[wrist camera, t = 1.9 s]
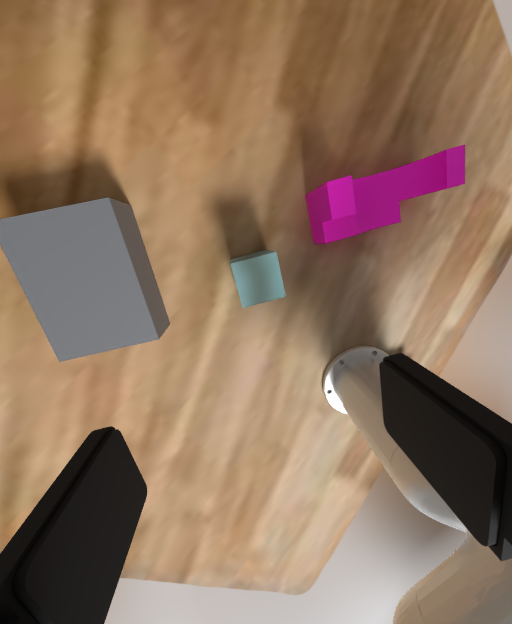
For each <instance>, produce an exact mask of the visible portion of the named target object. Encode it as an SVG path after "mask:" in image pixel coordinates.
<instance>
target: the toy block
mask: <svg viewBox="0 0 512 624" xmlns="http://www.w3.org/2000/svg"><path fill="white" fill-rule="evenodd" d="M462 184H465V145H462V146H458V147H454V148H451V149H447V150H444V151H442V152H439V153H437V154H434V155H432V156H429V157H426V158H424V159H421V160H418V161H415V162H413V163H410V164H407V165H404V166H401V167H398V168H395V169H392V170H388V171H385V172H382V173H378V174H375V175H371V176H367V177H363V178H358V179H352V176H347V177H343V178H340V179H336V180H332V181H329V182H326V183H324V184H323V185H321V186H320V187H318V188H317V189H315V190H314V191H312V192H310V193H309V194H307V195H306V202H307V207H308V213H309V218H310V224H311V230H312V235H313V241H314V244H326V243H330V242H333V241H337V240H340V239H344V238H348V237H351V236H355V235H358V234H360V233H363V232H366V231H369V230H372V229H376V228H379V227H383V226H387V225H391V224H395V223H399V222H401V218H400V205H399V201H402V200H405V199H409V198H413V197H417V196H420V195H424V194H428V193H432V192H436V191H439V190H443V189H447V188H451V187H454V186H458V185H462Z"/></svg>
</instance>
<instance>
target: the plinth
mask: <svg viewBox="0 0 512 624" xmlns="http://www.w3.org/2000/svg"><path fill="white" fill-rule="evenodd" d="M0 245H1V247H2V249H3V251H4V253H5V255H6V257H7V259H8V261H9V263H10V265H11V267H12V269H13V271H14V273H15V275H16V277H17V279H18V281H19V283H20V285H21V287H22V289H23V291H24V293H25V295H26V297H27V299H28V301H29V303H30V305H31V307H32V309H33V311H34V313H35V315H36V317H37V319H38V321H39V323H40V325H41V327H42V329H43V331H44V333H45V335H46V337H47V338H48V340H49V342H50V344H51V346H52V348H53V350H54V352H55V354H56V356H57V358H58V360H59V362H61V361H65V360H70V359H74V358H78V357H83V356H87V355H92V354H96V353H100V352H105V351H109V350H114V349H118V348H123V347H127V346H131V345H136V344H140V343H145V342H149V341H153V340H158V339H159V338H160V337H161V336H162V334H163V333H164V332H165V330H166V329H167V328H168V326H169V325H170V322H169V319H168V316H167V313H166V310H165V307H164V304H163V300H162V297H161V294H160V291H159V288H158V285H157V282H156V279H155V276H154V273H153V270H152V267H151V264H150V261H149V258H148V255H147V252H146V249H145V246H144V243H143V240H142V237H141V234H140V231H139V228H138V225H137V222H136V219H135V216H134V213H133V210H132V207H131V205H128V204H125V203H123V202H120V201H117V200H115V199H112V198H109V197H108V198H103V199H98V200H93V201H88V202H83V203H78V204H73V205H68V206H63V207H58V208H53V209H48V210H43V211H38V212H33V213H28V214H23V215H18V216H14V217H9V218H4V219H0Z"/></svg>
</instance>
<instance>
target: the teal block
mask: <svg viewBox="0 0 512 624" xmlns="http://www.w3.org/2000/svg"><path fill="white" fill-rule="evenodd" d="M230 264H231V268H232V271H233V275H234V279H235V282H236V286H237V290H238V293H239V297H240V301H241V304H242V308H245V307H248V306H252V305H256V304H260V303H264V302H267V301H271V300H275V299H279V298H283V297H286V295H285V290H284V285H283V281H282V276H281V271H280V266H279V262H278V257H277V252H275V251H269V250H263V251H259V252H255V253H252V254H248V255H244V256H240V257H236V258H232V259H231V261H230Z"/></svg>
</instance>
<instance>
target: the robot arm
mask: <svg viewBox="0 0 512 624" xmlns="http://www.w3.org/2000/svg"><path fill="white" fill-rule="evenodd" d="M322 387H323V392H324V395H325V397H326V399H327V401H328V402H329V404H330V405H331V406H332V407H333V408H335V409H336V410H337V411H339V412H342V413H345V414H348V415H349V416H350V418H351V419H352V421H353V422H354V424H355V425H356V427H357V428H358V430H359V431H360V433H361V434H362V436H363V437H364V438H365V440H366V441H367V443H368V444H369V446H370V447H371V449H372V450H373V452H374V453H375V455H376V456H377V458H378V459H379V460H380V462H381V463H382V465H383V466H384V468H385V469H386V471H387V472H388V474H389V475H390V476H391V478H392V479H393V481H394V483H395V484H396V486H397V487H398V488H399V490H400V491H401V492H402V494H403V495H404V496H405V498H406V499H407V500H408V501H409V502H410V503H411V504H412V505H413V506H415V507H416V508H417V509H418V510H419V511H421V512H422V513H424V514H426V515H427V516H429V517H431V518H433V519H435V520H437V521H439V522H441V523H443V524H446V525H448V526H451V527H453V528H455V529H458V530H461V531H463V532H466V533H467V537H466V540H465V541H464V543H463V544H461V545H460V546H459V547H458V548H457V549H456V550H455V553H454V554H452V555H451V556H450V557H449V558H448V559H446V560H445V561H444V562H442V563H441V564H440V565H439V566H437V567H436V568H435V569H434V570H433V571H431V572H430V573H429V574H428V575H426V576H425V577H424V578H423V579H421V580H420V581H419V582H418V583H417V584H415V585H414V586H413V587H412V588H411V589H410V590H409V591H408V592H407V593H406V594H405V595H404V596H403V597H402V598H401V600H400V601H399V603H398V605H397V607H396V610H395V613H394V618H393V624H512V424H511V423H510V422H508V421H507V420H505V419H503V418H502V417H500V416H499V415H497V414H496V413H494V412H492V411H491V410H489V409H488V408H486V407H485V406H483V405H482V404H480V403H479V402H477V401H476V400H474V399H472V398H471V397H469V396H468V395H466V394H465V393H463V392H461V391H460V390H459V389H457V388H455V387H454V386H452V385H451V384H449V383H448V382H446V381H445V380H443V379H441V378H440V377H438V376H437V375H435V374H434V373H432V372H431V371H429V370H427V369H426V368H424V367H423V366H421V365H420V364H418V363H417V362H415V361H413V360H412V359H410V358H409V357H407V356H406V355H404V354H402V353H398V354H394V355H390V356H389V355H388V354H387V353H385V352H384V351H382V350H381V349H379V348H376V347H373V346H357V347H353V348H350V349H348V350H345V351H343V352H342V353H341V354H339V355H338V356H337V357H335V358H334V359H333V360H332V362H331V363H330V364H329V366H328V367H327V369H326V371H325V373H324V377H323V383H322ZM146 497H147V486H146V483H145V481H144V479H143V477H142V475H141V473H140V471H139V469H138V467H137V465H136V463H135V461H134V459H133V457H132V455H131V452H130V450H129V448H128V446H127V444H126V442H125V440H124V438H123V436H122V434H121V432H120V431H119V430H117V429H116V430H115V428H114V427H106V428H102V429H98V430H94V431H92V432H91V433H90V434H89V435H88V437H87V438H86V439H85V441H84V442H83V443H82V445H81V446H80V447H79V449H78V450H77V452H76V453H75V454H74V456H73V457H72V458H71V460H70V461H69V462H68V464H67V465H66V466H65V468H64V469H63V470H62V472H61V473H60V474H59V476H58V477H57V478H56V480H55V481H54V482H53V484H52V485H51V486H50V488H49V489H48V490H47V492H46V493H45V494H44V496H43V497H42V499H41V500H40V501H39V503H38V504H37V505H36V507H35V508H34V509H33V511H32V512H31V513H30V515H29V516H28V517H27V519H26V520H25V521H24V523H23V524H22V525H21V527H20V528H19V529H18V531H17V532H16V533H15V535H14V536H13V537H12V539H11V540H10V542H9V543H8V544H7V546H6V547H5V548H4V550H3V551H2V552H1V554H0V624H104V622H105V619H106V616H107V613H108V610H109V608H110V604H111V601H112V598H113V595H114V593H115V589H116V587H117V583H118V581H119V578H120V575H121V572H122V569H123V566H124V563H125V560H126V557H127V554H128V551H129V548H130V545H131V542H132V539H133V536H134V533H135V530H136V527H137V524H138V521H139V518H140V515H141V512H142V509H143V506H144V503H145V500H146Z"/></svg>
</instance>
